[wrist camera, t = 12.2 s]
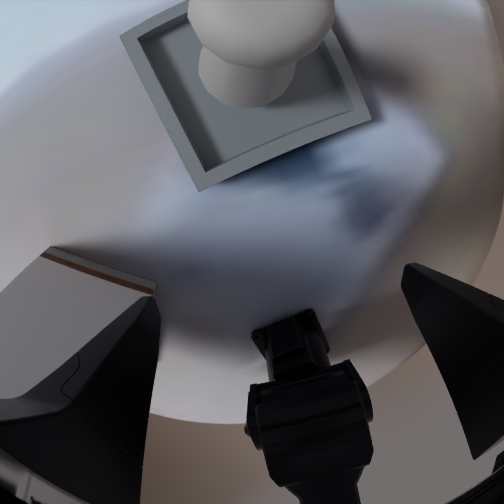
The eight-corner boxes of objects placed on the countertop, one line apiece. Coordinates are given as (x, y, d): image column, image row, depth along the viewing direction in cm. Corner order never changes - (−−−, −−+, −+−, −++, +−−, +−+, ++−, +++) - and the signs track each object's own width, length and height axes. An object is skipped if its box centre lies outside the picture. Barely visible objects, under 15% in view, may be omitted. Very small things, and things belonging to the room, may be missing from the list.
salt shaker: (190, 53, 16) (128, -38, 4) (266, 25, 15) (312, -84, 3) (223, 123, 18) (203, 118, 6) (299, 94, 17) (400, 58, 6)
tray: (357, 119, 19) (371, 119, 17) (202, 184, 21) (198, 192, 19) (287, -19, 14) (293, -33, 12) (130, 44, 15) (119, 36, 13)
